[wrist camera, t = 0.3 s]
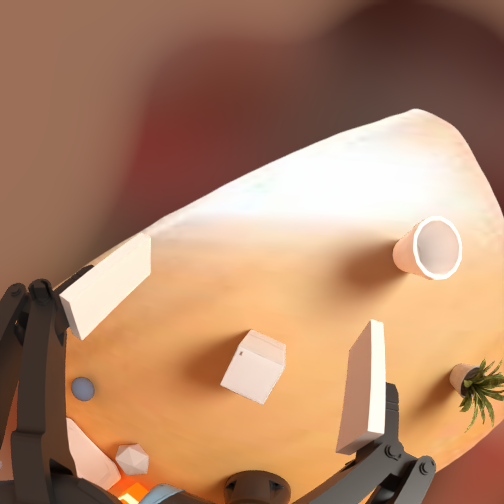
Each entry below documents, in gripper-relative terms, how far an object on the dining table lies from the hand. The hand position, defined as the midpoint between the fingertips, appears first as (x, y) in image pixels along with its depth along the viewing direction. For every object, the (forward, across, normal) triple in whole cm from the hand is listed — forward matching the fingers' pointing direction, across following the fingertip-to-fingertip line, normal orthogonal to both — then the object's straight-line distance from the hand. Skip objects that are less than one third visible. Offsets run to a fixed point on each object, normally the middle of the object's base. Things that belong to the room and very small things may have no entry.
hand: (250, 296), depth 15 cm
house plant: (+25, -45, +26) cm, 58 cm away
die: (0, +15, +63) cm, 65 cm away
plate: (-10, +32, +78) cm, 85 cm away
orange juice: (-11, +12, +78) cm, 80 cm away
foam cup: (+36, -22, +9) cm, 43 cm away
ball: (+4, +32, +52) cm, 61 cm away
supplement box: (+22, -2, +31) cm, 38 cm away
